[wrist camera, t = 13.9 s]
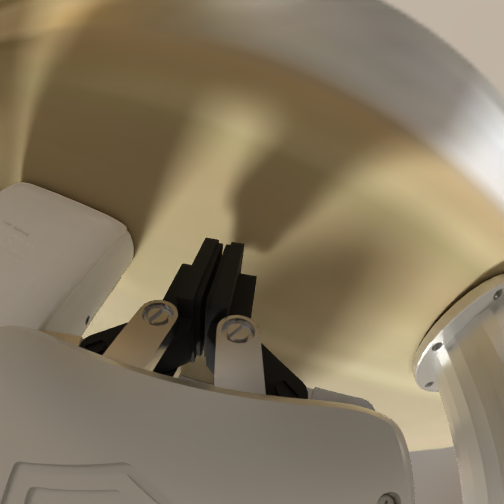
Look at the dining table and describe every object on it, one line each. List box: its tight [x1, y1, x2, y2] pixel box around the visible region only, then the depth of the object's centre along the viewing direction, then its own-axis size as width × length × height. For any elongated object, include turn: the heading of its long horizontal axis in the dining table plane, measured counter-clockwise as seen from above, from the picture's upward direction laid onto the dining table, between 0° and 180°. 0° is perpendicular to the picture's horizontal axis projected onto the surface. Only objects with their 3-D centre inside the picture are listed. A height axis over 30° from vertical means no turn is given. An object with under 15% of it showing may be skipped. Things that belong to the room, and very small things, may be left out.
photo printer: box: [0, 182, 134, 336], centre depth 8 cm, size 10×4×12 cm, turn 69°
